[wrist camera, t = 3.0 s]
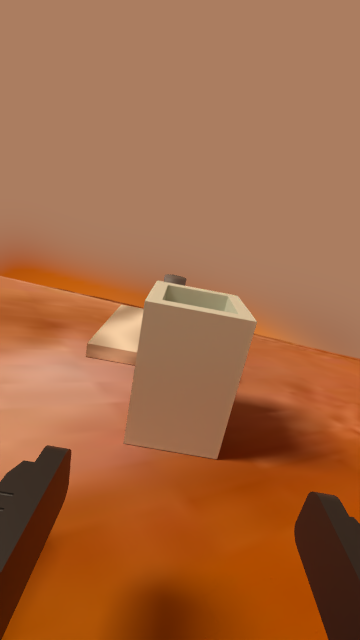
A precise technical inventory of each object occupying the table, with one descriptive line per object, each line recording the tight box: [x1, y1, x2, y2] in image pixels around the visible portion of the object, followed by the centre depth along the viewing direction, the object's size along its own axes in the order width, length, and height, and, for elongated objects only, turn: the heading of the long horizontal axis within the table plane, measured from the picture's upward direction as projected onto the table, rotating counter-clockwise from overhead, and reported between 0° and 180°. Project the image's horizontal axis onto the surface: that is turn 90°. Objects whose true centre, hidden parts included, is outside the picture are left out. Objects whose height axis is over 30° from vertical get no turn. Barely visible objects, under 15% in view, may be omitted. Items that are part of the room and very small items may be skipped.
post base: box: [86, 274, 186, 365], centre depth 35 cm, size 15×15×8 cm
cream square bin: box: [124, 281, 257, 459], centre depth 20 cm, size 6×6×10 cm
